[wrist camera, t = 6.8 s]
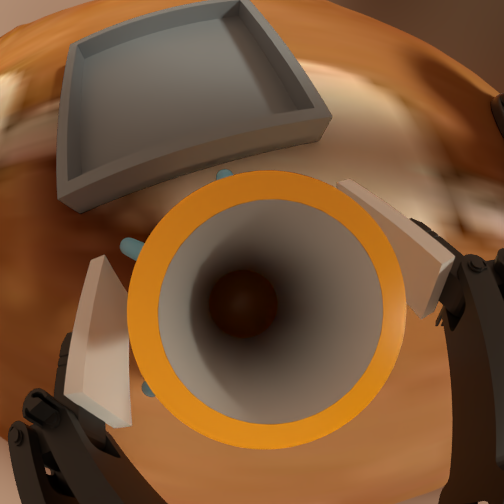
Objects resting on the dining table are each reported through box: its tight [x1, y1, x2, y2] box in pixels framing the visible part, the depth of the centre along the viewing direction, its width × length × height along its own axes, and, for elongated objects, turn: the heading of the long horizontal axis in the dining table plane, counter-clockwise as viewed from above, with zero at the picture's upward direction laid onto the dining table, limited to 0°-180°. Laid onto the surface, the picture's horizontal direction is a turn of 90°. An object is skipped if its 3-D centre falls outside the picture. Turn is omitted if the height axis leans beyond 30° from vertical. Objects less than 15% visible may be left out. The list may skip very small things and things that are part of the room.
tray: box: [56, 0, 332, 214], centre depth 19 cm, size 20×20×4 cm
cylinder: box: [120, 169, 406, 449], centre depth 11 cm, size 12×10×15 cm
